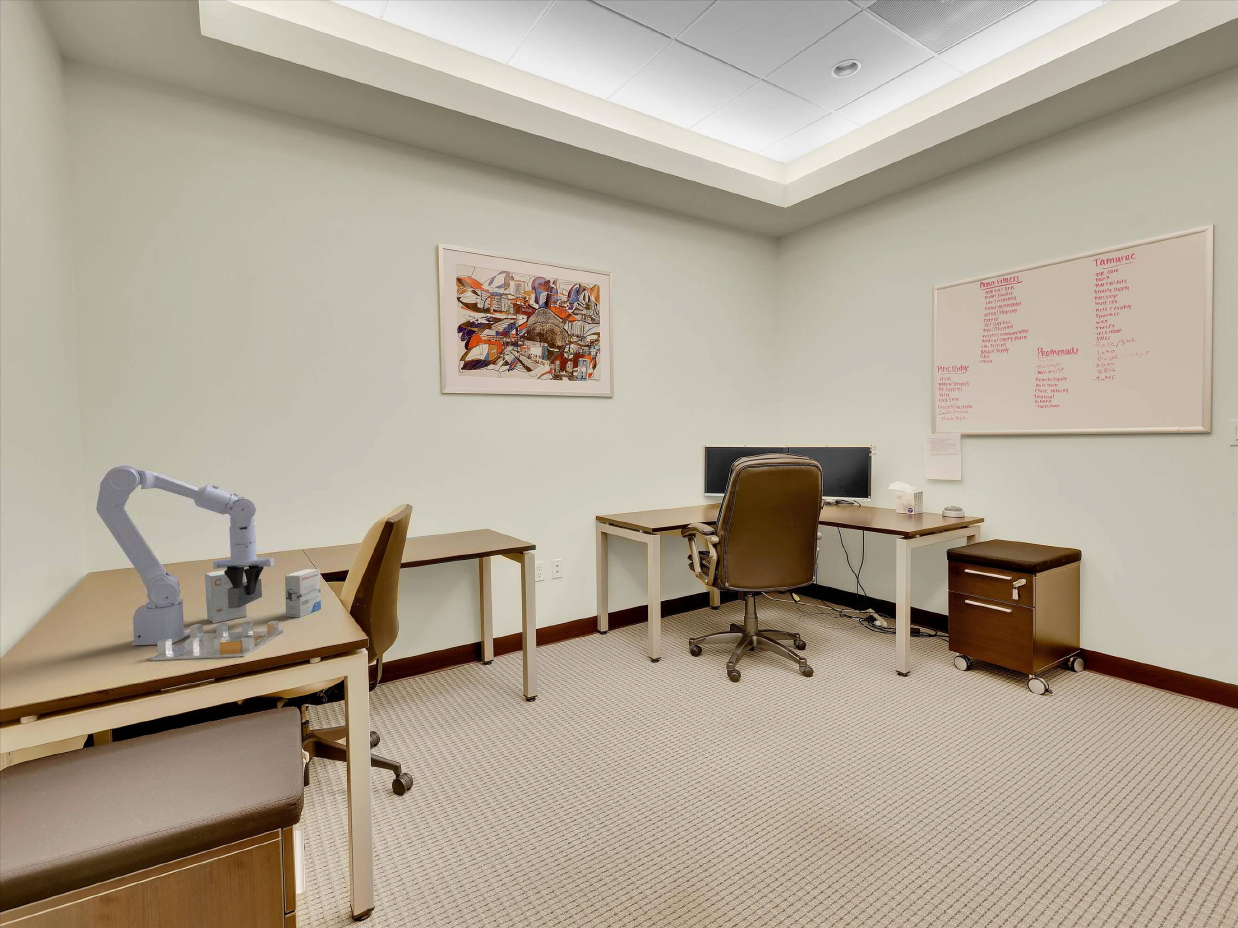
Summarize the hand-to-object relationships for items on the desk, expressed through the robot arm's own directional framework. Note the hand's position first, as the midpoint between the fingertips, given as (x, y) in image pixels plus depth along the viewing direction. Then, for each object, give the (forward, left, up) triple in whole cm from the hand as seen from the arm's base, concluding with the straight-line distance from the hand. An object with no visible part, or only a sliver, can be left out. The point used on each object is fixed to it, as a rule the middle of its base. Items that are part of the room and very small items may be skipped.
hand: (245, 594), depth 156 cm
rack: (+3, -16, -8) cm, 18 cm away
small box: (-10, +9, -9) cm, 16 cm away
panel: (0, 0, -2) cm, 2 cm away
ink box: (+10, +11, -9) cm, 17 cm away
